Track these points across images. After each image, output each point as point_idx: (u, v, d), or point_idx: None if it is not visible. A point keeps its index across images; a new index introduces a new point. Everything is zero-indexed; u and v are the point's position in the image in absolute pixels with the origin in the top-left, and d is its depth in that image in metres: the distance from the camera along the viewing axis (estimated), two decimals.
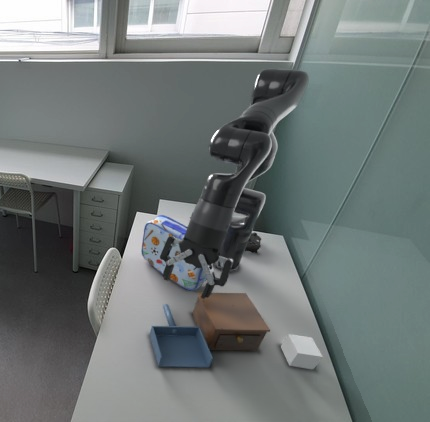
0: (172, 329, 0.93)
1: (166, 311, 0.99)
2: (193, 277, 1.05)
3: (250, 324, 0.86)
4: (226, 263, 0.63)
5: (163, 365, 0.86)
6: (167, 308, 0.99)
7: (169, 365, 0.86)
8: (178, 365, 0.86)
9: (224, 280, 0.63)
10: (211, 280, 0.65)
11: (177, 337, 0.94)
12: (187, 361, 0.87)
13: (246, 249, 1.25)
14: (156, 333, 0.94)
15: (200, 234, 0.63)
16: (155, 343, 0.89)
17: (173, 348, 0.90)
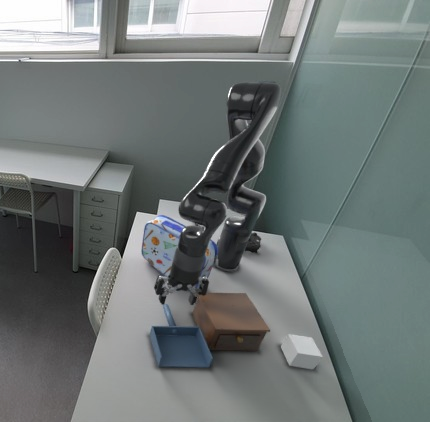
0: (172, 329, 0.93)
1: (166, 311, 0.99)
2: None
3: (250, 324, 0.86)
4: (205, 282, 0.85)
5: (163, 365, 0.86)
6: (167, 308, 0.99)
7: (169, 365, 0.86)
8: (178, 365, 0.86)
9: (205, 291, 0.87)
10: (197, 294, 0.87)
11: (177, 337, 0.94)
12: (187, 361, 0.87)
13: (246, 249, 1.25)
14: (156, 333, 0.94)
15: (190, 277, 0.81)
16: (155, 343, 0.89)
17: (173, 348, 0.90)
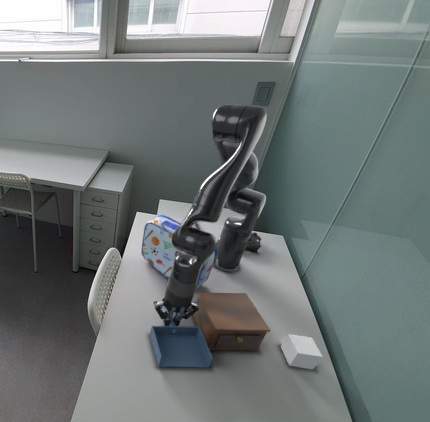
0: (172, 329, 0.93)
1: None
2: None
3: (250, 324, 0.86)
4: (195, 309, 0.91)
5: (163, 365, 0.86)
6: None
7: (169, 365, 0.86)
8: (178, 365, 0.86)
9: (189, 316, 0.93)
10: (180, 318, 0.93)
11: (177, 337, 0.94)
12: (187, 361, 0.87)
13: (246, 249, 1.25)
14: (156, 333, 0.94)
15: (183, 302, 0.86)
16: (155, 343, 0.89)
17: (173, 348, 0.90)
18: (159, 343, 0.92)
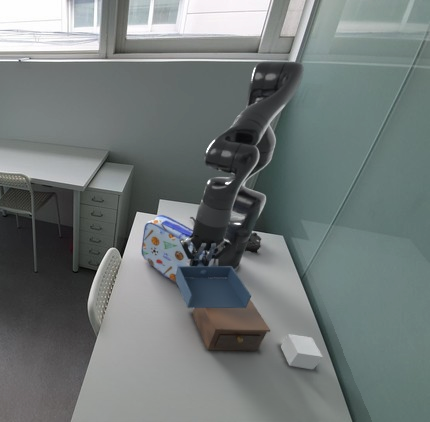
0: (201, 270, 0.82)
1: None
2: None
3: (250, 324, 0.86)
4: (228, 245, 0.80)
5: (193, 306, 0.76)
6: None
7: (200, 306, 0.76)
8: (210, 306, 0.76)
9: (219, 255, 0.82)
10: (210, 258, 0.83)
11: (206, 279, 0.83)
12: (220, 302, 0.76)
13: (246, 249, 1.25)
14: (182, 275, 0.83)
15: (216, 233, 0.75)
16: (183, 283, 0.78)
17: (203, 290, 0.80)
18: None
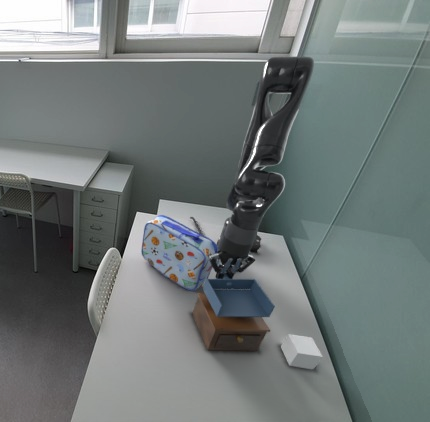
0: (227, 282, 0.91)
1: None
2: (193, 277, 1.05)
3: (250, 324, 0.86)
4: (252, 260, 0.89)
5: (222, 315, 0.85)
6: None
7: (228, 315, 0.84)
8: (237, 315, 0.84)
9: (244, 269, 0.91)
10: (235, 271, 0.92)
11: (232, 290, 0.92)
12: (246, 311, 0.85)
13: None
14: None
15: (243, 250, 0.84)
16: (212, 294, 0.87)
17: (229, 300, 0.89)
18: None
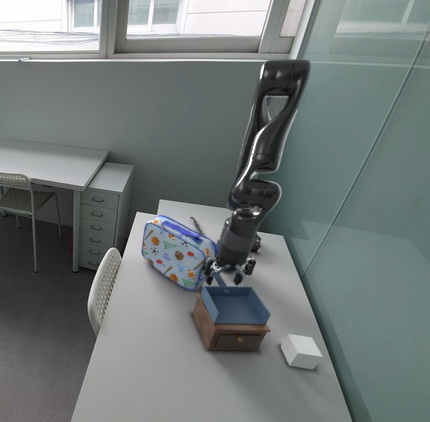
0: (224, 289, 0.93)
1: None
2: (193, 277, 1.05)
3: (250, 324, 0.86)
4: (252, 263, 0.90)
5: (219, 322, 0.86)
6: None
7: (225, 322, 0.86)
8: (234, 322, 0.86)
9: (251, 272, 0.92)
10: (243, 274, 0.92)
11: (229, 298, 0.94)
12: (242, 319, 0.87)
13: None
14: None
15: (240, 257, 0.85)
16: (209, 301, 0.89)
17: (226, 307, 0.90)
18: None
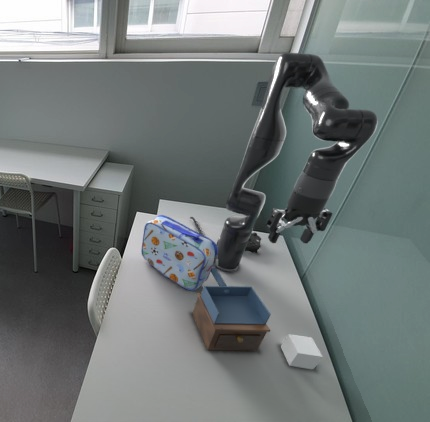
0: (224, 289, 0.93)
1: (215, 274, 0.99)
2: (193, 277, 1.05)
3: (250, 324, 0.86)
4: (328, 215, 0.78)
5: (219, 322, 0.86)
6: (216, 271, 0.99)
7: (225, 322, 0.86)
8: (234, 322, 0.86)
9: (325, 226, 0.80)
10: (315, 230, 0.81)
11: (229, 298, 0.94)
12: (242, 319, 0.87)
13: (246, 249, 1.25)
14: None
15: (318, 205, 0.74)
16: (209, 301, 0.89)
17: (226, 307, 0.90)
18: None
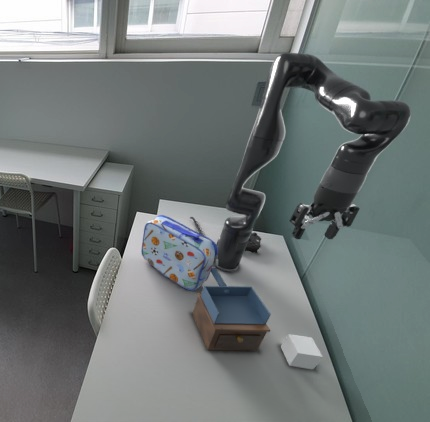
0: (224, 289, 0.93)
1: (215, 274, 0.99)
2: (193, 277, 1.05)
3: (250, 324, 0.86)
4: (355, 210, 0.77)
5: (219, 322, 0.86)
6: (216, 271, 0.99)
7: (225, 322, 0.86)
8: (234, 322, 0.86)
9: (351, 221, 0.79)
10: (341, 225, 0.80)
11: (229, 298, 0.94)
12: (242, 319, 0.87)
13: (246, 249, 1.25)
14: None
15: (347, 200, 0.73)
16: (209, 301, 0.89)
17: (226, 307, 0.90)
18: None
